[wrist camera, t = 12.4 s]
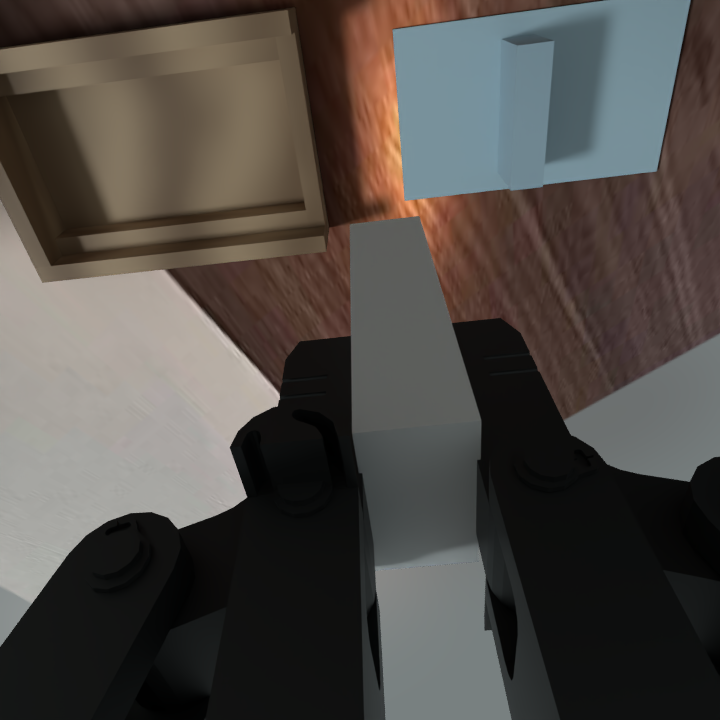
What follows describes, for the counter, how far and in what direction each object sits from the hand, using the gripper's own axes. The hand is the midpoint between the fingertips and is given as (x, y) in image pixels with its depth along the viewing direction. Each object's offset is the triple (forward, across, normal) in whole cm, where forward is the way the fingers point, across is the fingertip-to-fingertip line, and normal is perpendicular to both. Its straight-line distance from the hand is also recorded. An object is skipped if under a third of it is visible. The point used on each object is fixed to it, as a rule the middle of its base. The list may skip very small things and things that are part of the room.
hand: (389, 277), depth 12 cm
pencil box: (+20, -11, -1) cm, 22 cm away
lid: (+20, +9, -1) cm, 22 cm away
